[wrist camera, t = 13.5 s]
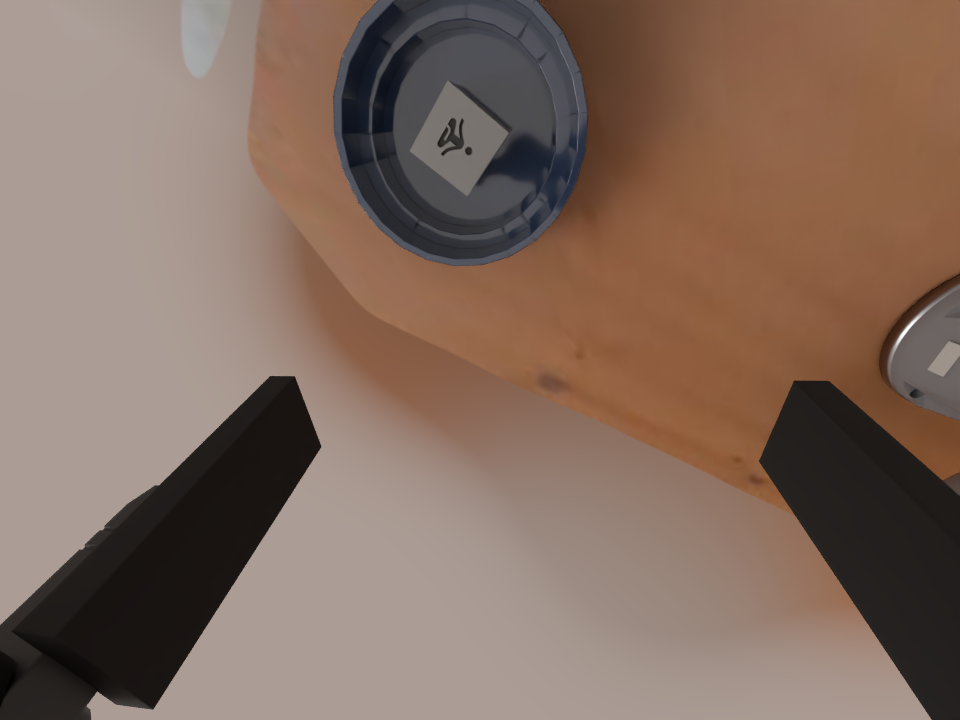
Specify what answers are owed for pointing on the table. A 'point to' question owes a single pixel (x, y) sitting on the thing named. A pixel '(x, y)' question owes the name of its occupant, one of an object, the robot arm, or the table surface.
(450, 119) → the dice cube
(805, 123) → the table surface
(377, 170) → the blue round bowl
